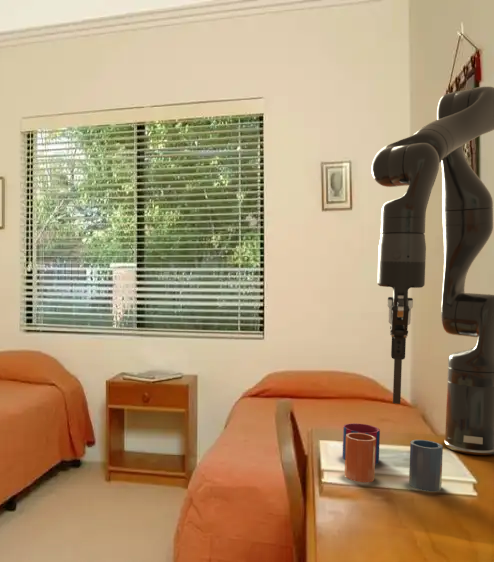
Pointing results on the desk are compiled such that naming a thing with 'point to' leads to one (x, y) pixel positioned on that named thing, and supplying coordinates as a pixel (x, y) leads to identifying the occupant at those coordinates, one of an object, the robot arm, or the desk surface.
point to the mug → (366, 430)
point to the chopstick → (397, 381)
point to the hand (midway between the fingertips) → (397, 357)
